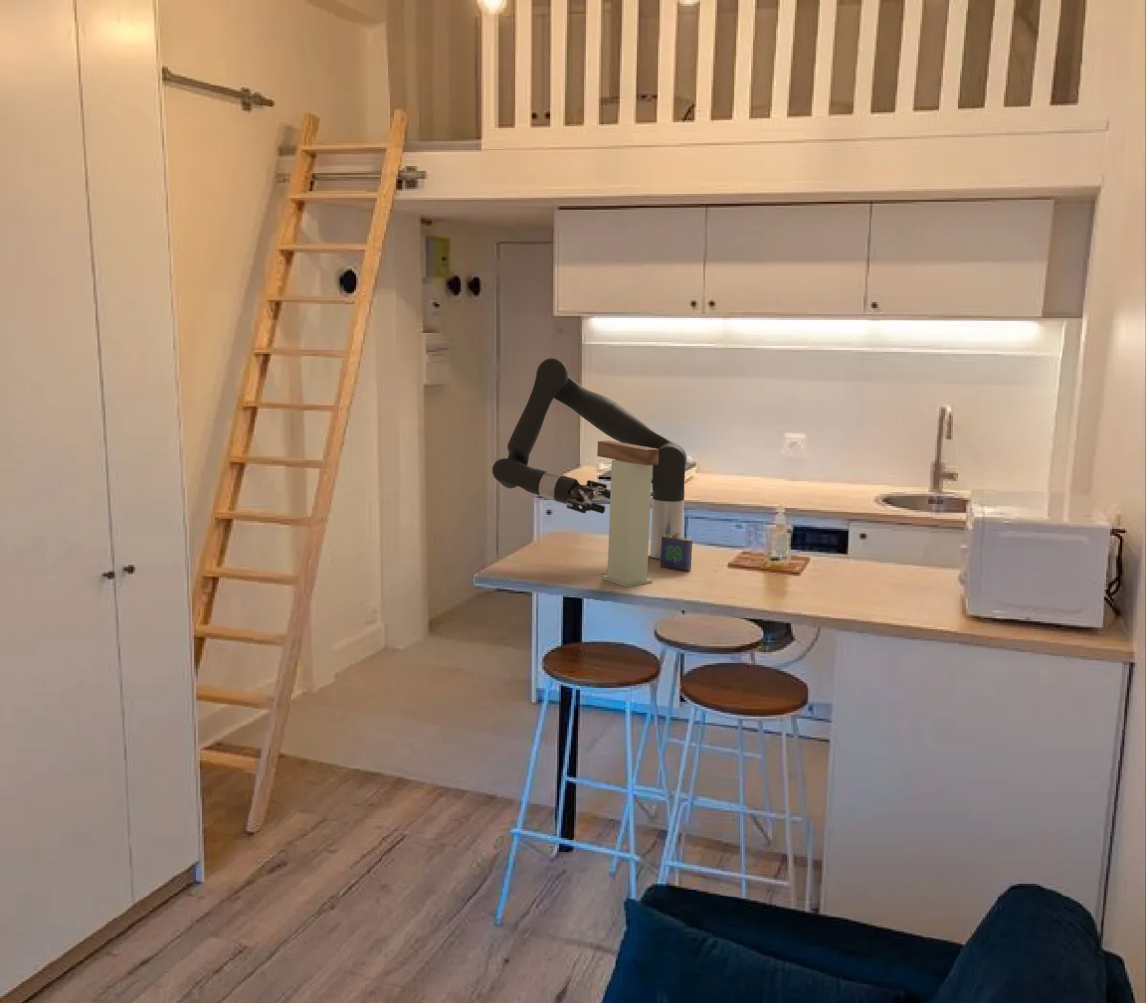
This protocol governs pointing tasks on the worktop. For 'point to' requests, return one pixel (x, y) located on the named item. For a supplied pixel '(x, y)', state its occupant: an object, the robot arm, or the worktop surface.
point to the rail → (628, 452)
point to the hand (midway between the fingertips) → (611, 503)
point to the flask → (676, 553)
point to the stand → (629, 524)
